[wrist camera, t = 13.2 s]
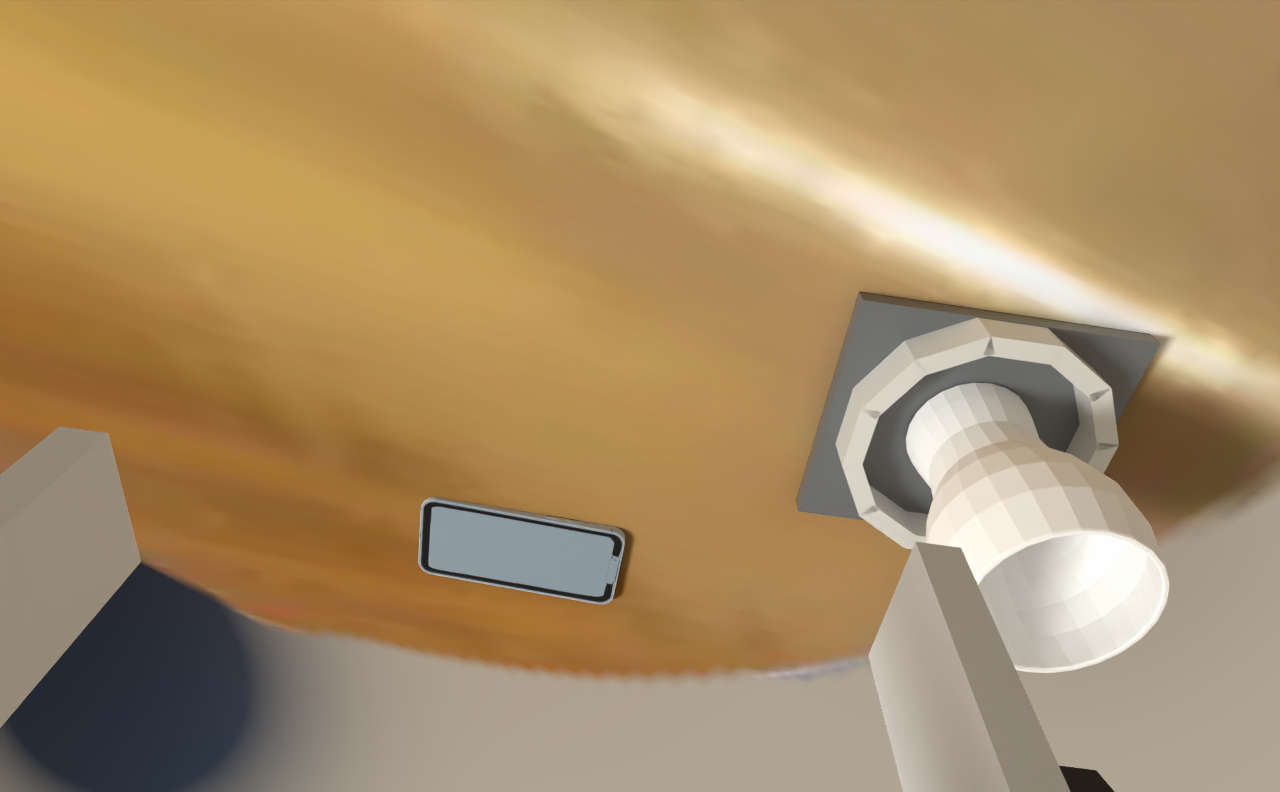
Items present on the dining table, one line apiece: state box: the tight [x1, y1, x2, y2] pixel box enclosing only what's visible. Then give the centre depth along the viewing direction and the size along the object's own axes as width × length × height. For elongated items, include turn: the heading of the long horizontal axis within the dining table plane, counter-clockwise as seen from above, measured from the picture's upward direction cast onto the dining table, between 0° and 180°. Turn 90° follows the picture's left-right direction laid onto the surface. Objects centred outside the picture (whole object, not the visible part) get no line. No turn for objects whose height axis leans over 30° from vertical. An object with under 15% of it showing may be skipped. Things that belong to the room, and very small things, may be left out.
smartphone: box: [418, 497, 625, 604], centre depth 59 cm, size 7×1×15 cm
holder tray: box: [796, 292, 1160, 549], centre depth 50 cm, size 16×18×4 cm
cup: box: [906, 383, 1170, 673], centre depth 45 cm, size 11×11×15 cm
